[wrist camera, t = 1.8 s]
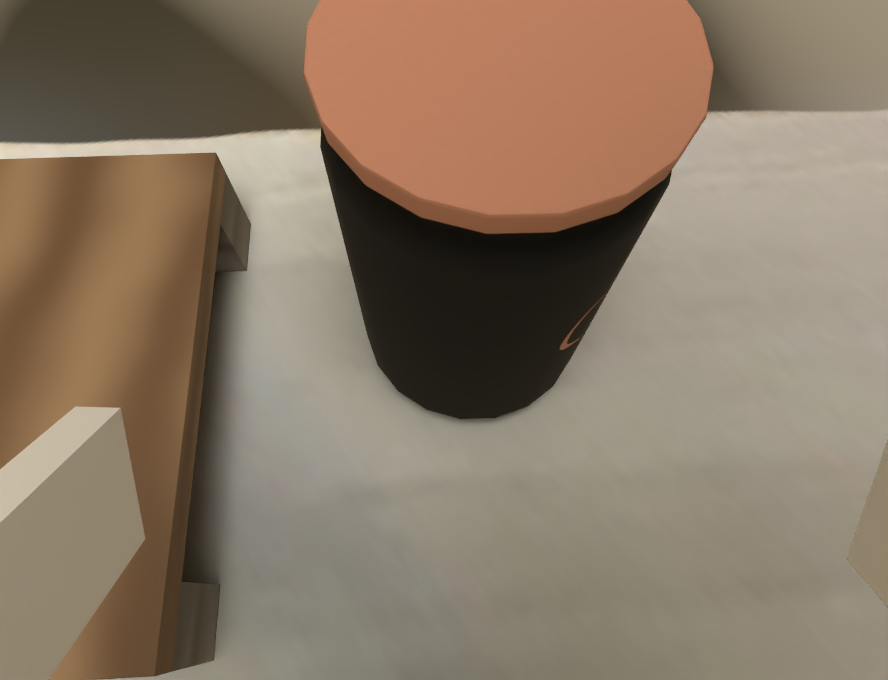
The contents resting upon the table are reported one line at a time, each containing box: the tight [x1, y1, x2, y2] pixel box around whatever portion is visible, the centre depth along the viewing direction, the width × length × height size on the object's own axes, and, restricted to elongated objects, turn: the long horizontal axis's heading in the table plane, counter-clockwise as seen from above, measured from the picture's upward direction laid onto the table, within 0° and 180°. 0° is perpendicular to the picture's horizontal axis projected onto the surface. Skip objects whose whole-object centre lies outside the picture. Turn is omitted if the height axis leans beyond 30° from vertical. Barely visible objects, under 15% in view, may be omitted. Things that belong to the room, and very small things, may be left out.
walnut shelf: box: [0, 153, 251, 680], centre depth 27 cm, size 14×22×6 cm, turn 3°
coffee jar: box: [303, 0, 714, 419], centre depth 24 cm, size 11×11×18 cm
